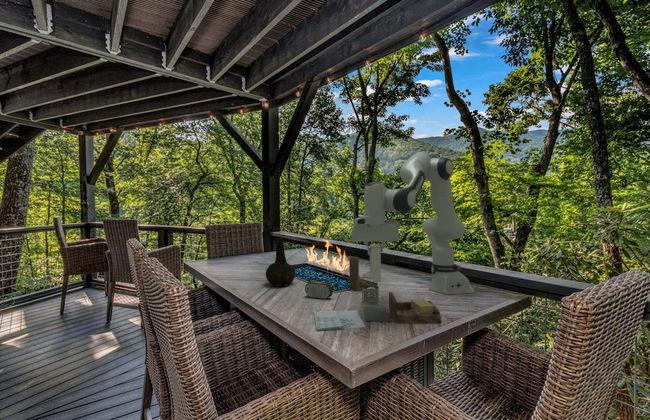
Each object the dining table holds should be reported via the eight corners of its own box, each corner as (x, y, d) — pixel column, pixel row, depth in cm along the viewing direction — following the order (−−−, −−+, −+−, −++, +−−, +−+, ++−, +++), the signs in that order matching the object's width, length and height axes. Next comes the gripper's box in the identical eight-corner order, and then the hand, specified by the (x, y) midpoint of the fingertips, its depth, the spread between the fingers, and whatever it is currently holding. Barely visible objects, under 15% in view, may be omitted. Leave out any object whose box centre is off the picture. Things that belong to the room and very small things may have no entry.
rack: (429, 308, 144) (429, 291, 143) (441, 323, 127) (440, 303, 126) (388, 308, 145) (388, 291, 145) (394, 323, 128) (394, 303, 128)
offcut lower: (425, 312, 140) (425, 305, 140) (432, 320, 131) (432, 313, 131) (411, 312, 140) (411, 306, 140) (418, 320, 131) (418, 313, 131)
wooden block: (367, 289, 176) (366, 256, 176) (366, 291, 172) (365, 258, 171) (351, 288, 179) (350, 256, 178) (349, 290, 174) (349, 258, 174)
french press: (376, 308, 145) (375, 254, 144) (353, 304, 151) (352, 252, 150) (384, 302, 153) (383, 251, 152) (362, 299, 159) (361, 249, 158)
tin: (333, 298, 161) (332, 282, 161) (330, 300, 158) (330, 283, 158) (307, 295, 167) (306, 279, 167) (304, 297, 164) (303, 281, 164)
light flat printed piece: (313, 314, 141) (313, 310, 141) (358, 312, 142) (358, 307, 142) (315, 332, 122) (315, 327, 122) (367, 330, 123) (367, 324, 123)
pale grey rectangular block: (378, 275, 142) (377, 244, 141) (381, 282, 131) (380, 248, 130) (370, 275, 142) (369, 244, 141) (372, 282, 131) (372, 248, 130)
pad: (385, 309, 144) (385, 308, 144) (390, 321, 130) (390, 320, 130) (363, 309, 144) (363, 308, 144) (365, 321, 130) (365, 320, 130)
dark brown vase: (280, 279, 203) (279, 235, 202) (301, 282, 192) (300, 236, 191) (259, 285, 188) (257, 238, 187) (281, 290, 178) (279, 240, 177)
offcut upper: (423, 305, 140) (423, 298, 140) (433, 312, 132) (433, 305, 131) (410, 306, 139) (410, 299, 139) (420, 313, 131) (420, 306, 130)
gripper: (398, 218, 138) (398, 250, 138) (350, 219, 139) (351, 250, 140) (400, 219, 132) (400, 252, 132) (351, 220, 133) (351, 253, 133)
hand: (375, 251), depth 136 cm, fingers closed on pale grey rectangular block, 3 cm apart
